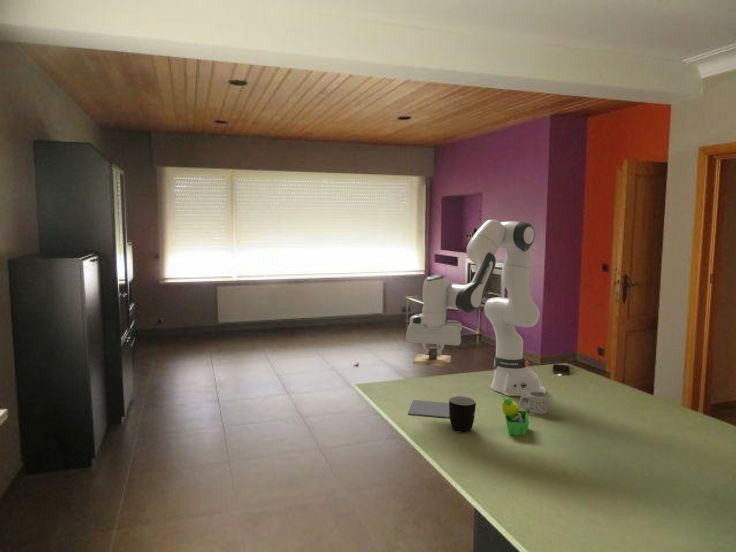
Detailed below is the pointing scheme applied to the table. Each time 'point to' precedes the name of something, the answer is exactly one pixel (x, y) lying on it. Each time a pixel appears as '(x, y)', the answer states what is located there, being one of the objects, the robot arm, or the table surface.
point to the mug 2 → (535, 402)
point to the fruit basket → (515, 418)
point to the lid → (432, 358)
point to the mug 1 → (462, 413)
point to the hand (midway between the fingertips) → (432, 355)
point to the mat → (429, 409)
